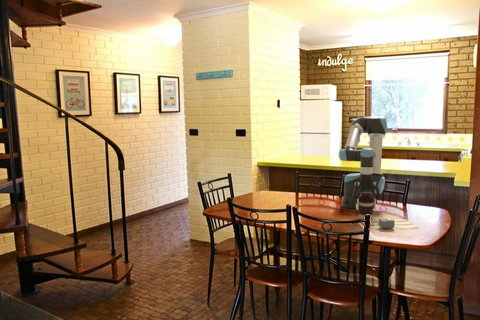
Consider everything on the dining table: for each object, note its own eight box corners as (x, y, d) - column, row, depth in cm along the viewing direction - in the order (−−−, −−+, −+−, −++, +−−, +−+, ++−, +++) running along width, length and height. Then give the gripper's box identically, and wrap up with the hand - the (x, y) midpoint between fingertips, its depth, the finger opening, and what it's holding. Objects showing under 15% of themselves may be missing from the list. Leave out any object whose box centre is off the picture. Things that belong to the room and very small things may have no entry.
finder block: (378, 226, 230) (378, 218, 229) (390, 226, 230) (391, 217, 229) (381, 229, 225) (382, 220, 224) (394, 229, 225) (394, 220, 224)
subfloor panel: (360, 223, 242) (360, 220, 242) (406, 222, 243) (406, 219, 242) (370, 232, 225) (370, 229, 224) (419, 231, 225) (419, 228, 225)
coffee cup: (367, 223, 242) (367, 199, 240) (353, 219, 250) (354, 196, 248) (377, 220, 247) (377, 196, 245) (363, 217, 255) (364, 194, 253)
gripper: (349, 174, 241) (349, 210, 244) (387, 174, 241) (386, 210, 244) (346, 172, 248) (346, 207, 251) (382, 172, 248) (381, 207, 251)
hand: (365, 208), depth 247 cm, fingers closed on coffee cup, 10 cm apart
